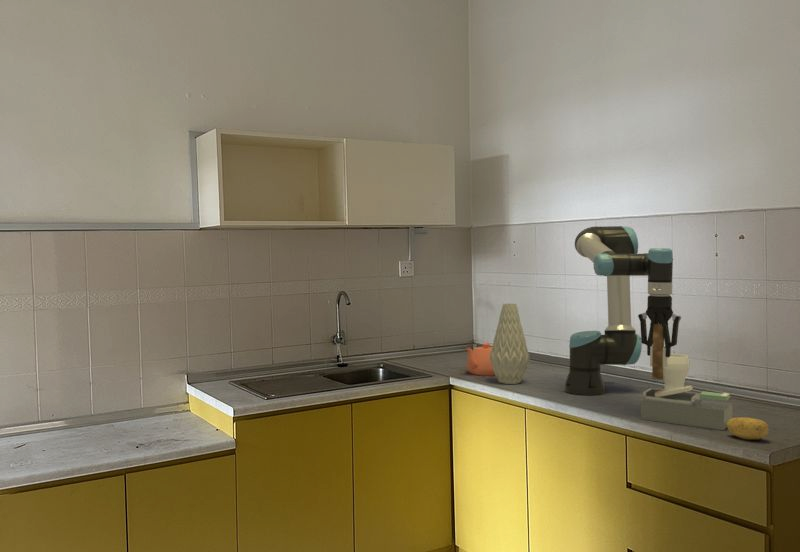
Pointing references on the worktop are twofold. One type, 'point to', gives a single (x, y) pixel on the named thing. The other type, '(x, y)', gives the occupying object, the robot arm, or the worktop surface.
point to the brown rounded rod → (657, 351)
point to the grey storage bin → (685, 410)
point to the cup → (676, 371)
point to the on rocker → (714, 395)
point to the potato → (748, 428)
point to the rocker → (673, 391)
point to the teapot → (480, 360)
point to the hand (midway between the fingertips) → (658, 366)
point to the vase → (509, 347)
